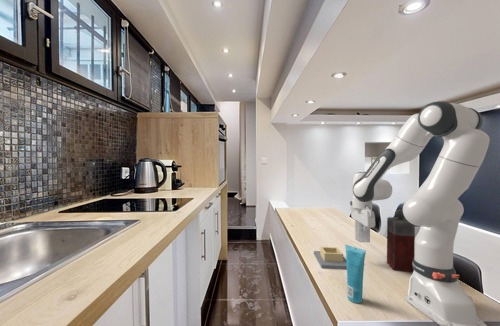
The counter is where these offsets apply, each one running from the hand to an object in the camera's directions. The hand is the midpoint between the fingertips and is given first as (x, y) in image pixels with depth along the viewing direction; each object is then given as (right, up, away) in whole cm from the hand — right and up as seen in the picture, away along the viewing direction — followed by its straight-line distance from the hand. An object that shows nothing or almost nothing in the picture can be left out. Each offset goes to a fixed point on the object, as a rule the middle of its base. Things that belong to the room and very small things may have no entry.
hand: (362, 232), depth 114 cm
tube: (-17, -16, -30) cm, 38 cm away
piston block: (0, -4, 0) cm, 4 cm away
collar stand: (-14, -16, +4) cm, 22 cm away
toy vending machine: (+18, -17, -1) cm, 24 cm away
